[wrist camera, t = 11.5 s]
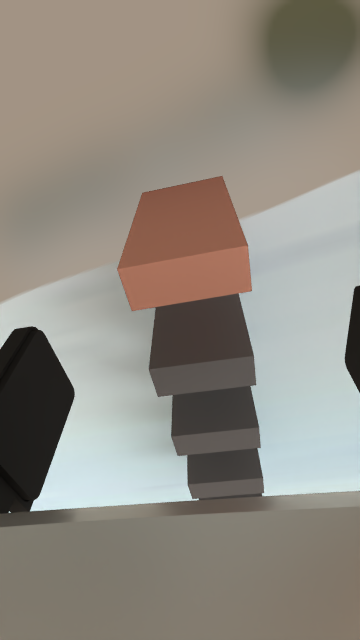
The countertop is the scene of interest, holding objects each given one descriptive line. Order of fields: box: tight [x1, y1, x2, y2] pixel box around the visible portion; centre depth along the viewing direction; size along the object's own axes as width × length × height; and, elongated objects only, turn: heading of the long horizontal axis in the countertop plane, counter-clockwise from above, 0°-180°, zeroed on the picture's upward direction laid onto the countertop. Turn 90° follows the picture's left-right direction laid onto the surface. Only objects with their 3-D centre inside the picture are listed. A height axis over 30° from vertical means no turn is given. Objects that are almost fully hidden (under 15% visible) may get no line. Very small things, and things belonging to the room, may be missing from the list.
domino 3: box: [171, 386, 261, 456], centre depth 24 cm, size 5×2×10 cm, turn 101°
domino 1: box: [117, 176, 252, 311], centre depth 17 cm, size 5×2×10 cm, turn 102°
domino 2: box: [149, 293, 256, 397], centre depth 20 cm, size 5×2×10 cm, turn 101°
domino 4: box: [187, 448, 264, 499], centre depth 27 cm, size 5×2×10 cm, turn 101°
